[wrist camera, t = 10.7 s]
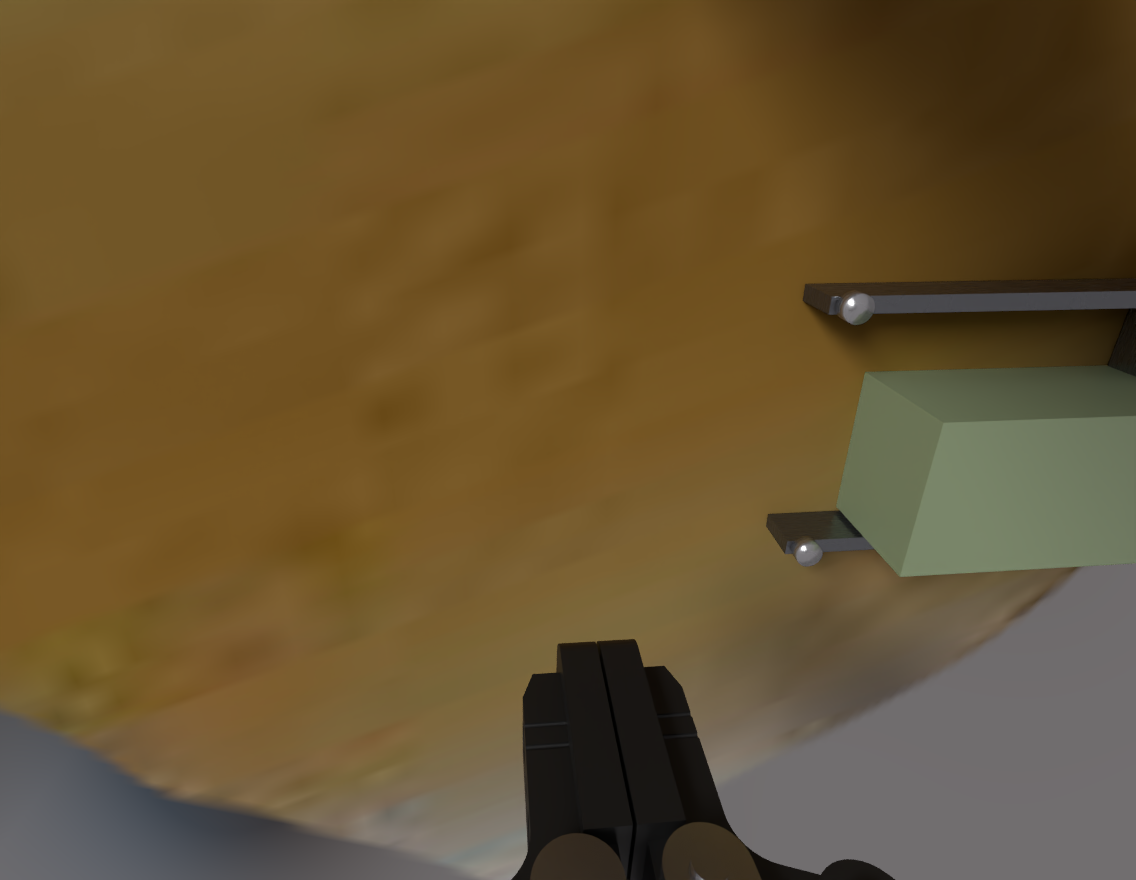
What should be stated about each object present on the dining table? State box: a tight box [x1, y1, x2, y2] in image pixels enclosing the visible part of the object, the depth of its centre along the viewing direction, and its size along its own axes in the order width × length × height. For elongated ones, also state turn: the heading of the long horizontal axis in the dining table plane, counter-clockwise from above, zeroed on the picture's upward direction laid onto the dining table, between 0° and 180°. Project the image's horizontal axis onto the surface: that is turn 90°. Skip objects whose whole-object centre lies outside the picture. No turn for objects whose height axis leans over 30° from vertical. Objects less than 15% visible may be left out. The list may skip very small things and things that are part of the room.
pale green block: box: [836, 365, 1136, 577], centre depth 24 cm, size 6×10×5 cm, turn 90°
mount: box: [766, 278, 1136, 566], centre depth 24 cm, size 11×14×3 cm
